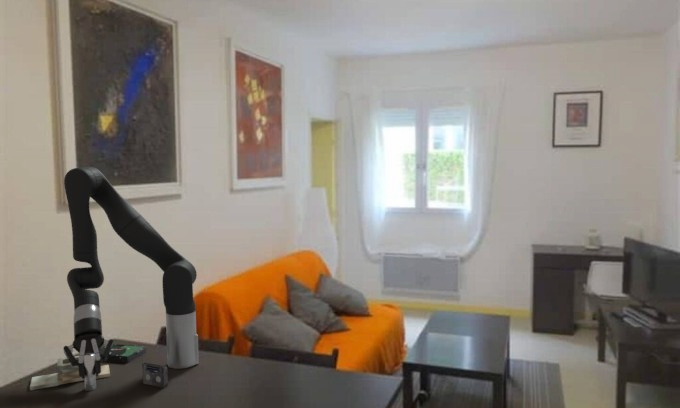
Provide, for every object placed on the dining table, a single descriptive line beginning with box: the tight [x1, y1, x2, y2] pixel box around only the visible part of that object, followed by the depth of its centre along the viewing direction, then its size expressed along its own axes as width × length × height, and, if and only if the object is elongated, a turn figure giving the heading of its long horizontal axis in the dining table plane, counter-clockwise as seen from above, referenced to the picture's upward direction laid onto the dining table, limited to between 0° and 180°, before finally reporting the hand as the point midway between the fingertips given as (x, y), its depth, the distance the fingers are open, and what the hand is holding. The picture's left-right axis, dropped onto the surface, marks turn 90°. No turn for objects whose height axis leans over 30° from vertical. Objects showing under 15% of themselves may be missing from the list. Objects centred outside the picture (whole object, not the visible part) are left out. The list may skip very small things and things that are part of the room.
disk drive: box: [99, 343, 147, 364], centre depth 174 cm, size 10×3×15 cm
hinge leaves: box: [29, 355, 111, 391], centre depth 155 cm, size 21×8×6 cm, turn 117°
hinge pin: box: [83, 353, 97, 392], centre depth 147 cm, size 3×3×10 cm
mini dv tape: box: [141, 362, 169, 389], centre depth 150 cm, size 8×2×6 cm, turn 65°
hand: (90, 375), depth 146 cm, fingers closed on hinge pin, 3 cm apart
